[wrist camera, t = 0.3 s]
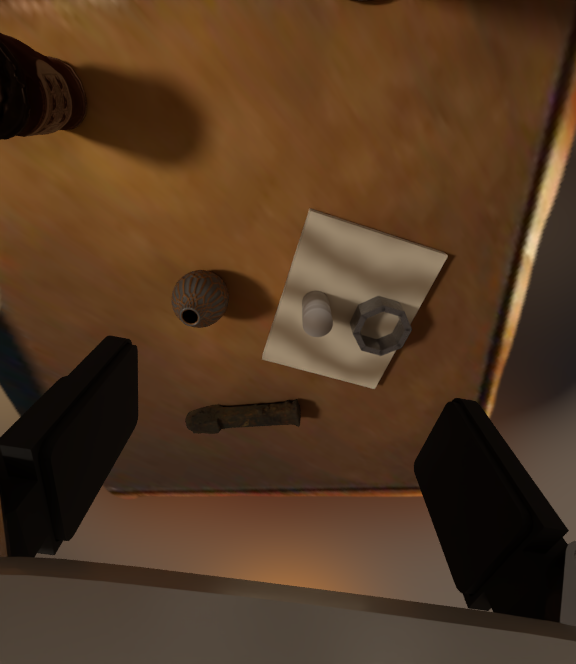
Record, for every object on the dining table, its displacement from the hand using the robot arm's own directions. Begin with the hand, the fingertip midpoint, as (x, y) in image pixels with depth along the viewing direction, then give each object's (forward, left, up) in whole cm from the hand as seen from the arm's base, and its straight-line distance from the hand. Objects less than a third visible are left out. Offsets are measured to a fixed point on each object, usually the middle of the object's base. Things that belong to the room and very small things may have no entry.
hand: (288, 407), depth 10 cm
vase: (+14, -8, -36) cm, 39 cm away
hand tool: (+34, +2, -36) cm, 50 cm away
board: (+11, +11, -36) cm, 39 cm away
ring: (+11, +15, -34) cm, 39 cm away
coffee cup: (-3, -27, -36) cm, 45 cm away
